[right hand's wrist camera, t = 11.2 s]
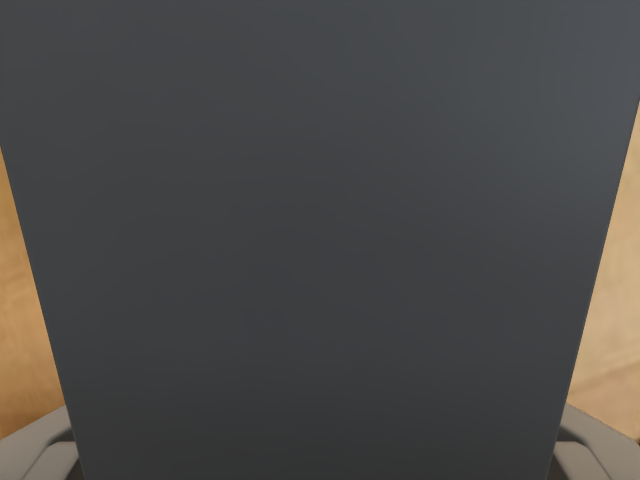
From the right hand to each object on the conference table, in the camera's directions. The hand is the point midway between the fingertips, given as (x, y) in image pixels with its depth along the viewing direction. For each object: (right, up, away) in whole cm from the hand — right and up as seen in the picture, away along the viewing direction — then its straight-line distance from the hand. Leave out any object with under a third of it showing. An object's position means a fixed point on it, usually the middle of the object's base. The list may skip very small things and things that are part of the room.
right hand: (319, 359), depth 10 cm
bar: (0, +9, +1) cm, 9 cm away
